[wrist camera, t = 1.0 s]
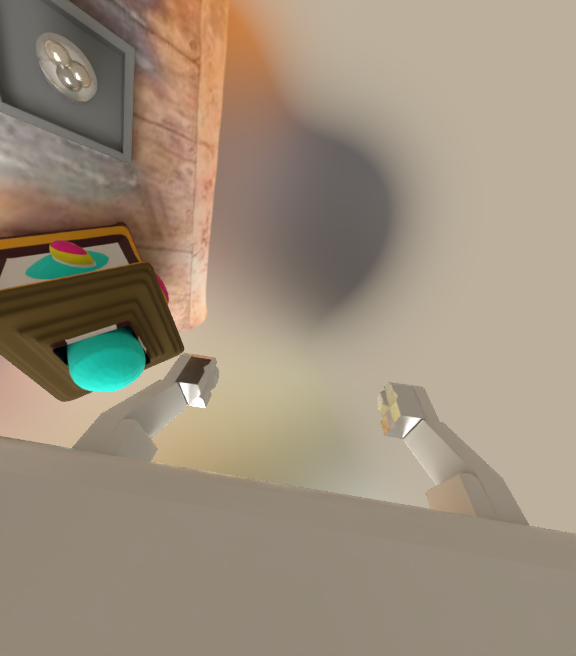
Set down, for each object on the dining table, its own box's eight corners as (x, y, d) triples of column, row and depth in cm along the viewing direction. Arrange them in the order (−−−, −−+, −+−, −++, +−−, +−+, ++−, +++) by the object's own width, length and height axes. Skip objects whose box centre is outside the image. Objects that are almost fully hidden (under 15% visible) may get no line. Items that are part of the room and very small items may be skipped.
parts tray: (-7, 108, 25) (-12, 107, 23) (-38, -65, 20) (-49, -86, 18) (126, 162, 35) (131, 164, 33) (129, 54, 29) (135, 49, 27)
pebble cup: (42, 88, 26) (38, 78, 21) (37, 37, 24) (31, 13, 19) (91, 112, 29) (98, 109, 24) (90, 69, 27) (97, 56, 22)
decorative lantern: (55, 333, 41) (54, 477, 24) (-44, 226, 28) (-196, 374, 11) (164, 301, 51) (217, 387, 34) (128, 211, 38) (185, 278, 21)
